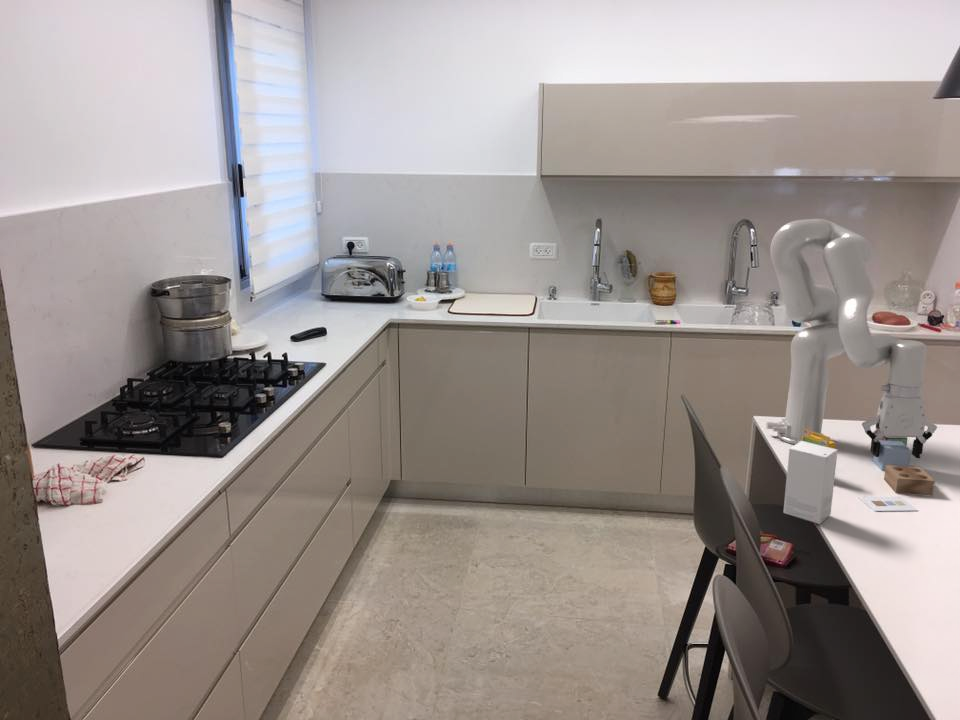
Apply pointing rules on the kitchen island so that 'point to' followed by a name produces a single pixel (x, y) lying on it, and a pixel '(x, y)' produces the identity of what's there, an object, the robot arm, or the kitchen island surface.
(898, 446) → the slate block
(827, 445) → the crayon box
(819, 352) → the robot arm
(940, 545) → the kitchen island surface
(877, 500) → the page
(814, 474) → the skincare box
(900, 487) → the walnut base
